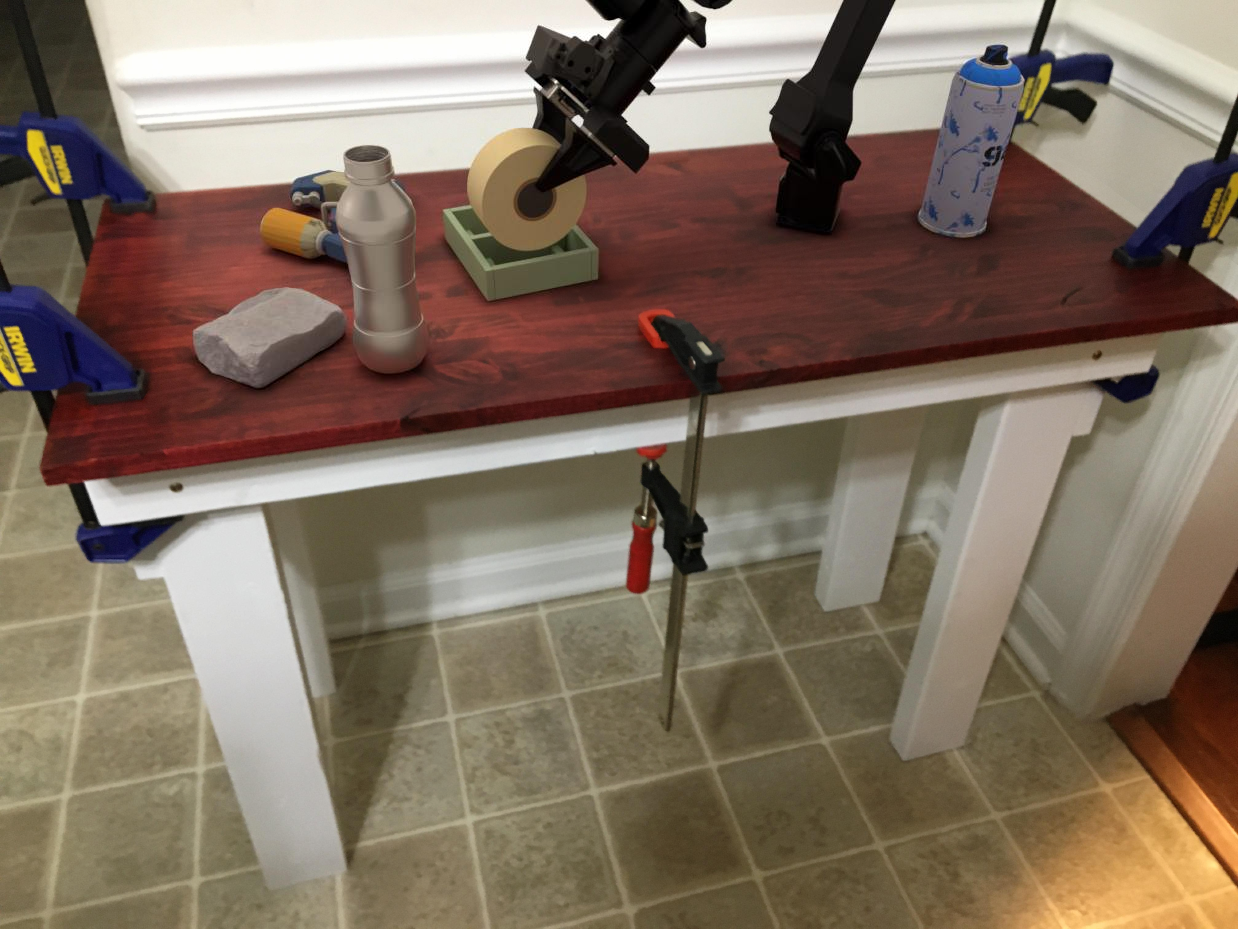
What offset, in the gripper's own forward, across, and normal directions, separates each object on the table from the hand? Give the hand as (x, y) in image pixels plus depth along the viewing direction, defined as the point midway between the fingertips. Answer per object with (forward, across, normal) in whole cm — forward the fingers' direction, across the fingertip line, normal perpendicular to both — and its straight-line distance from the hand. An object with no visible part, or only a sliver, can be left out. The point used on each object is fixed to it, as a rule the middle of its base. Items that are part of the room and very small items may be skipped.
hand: (529, 179), depth 100 cm
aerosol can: (-28, +7, +43) cm, 52 cm away
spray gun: (+19, -16, -4) cm, 25 cm away
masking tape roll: (+1, 0, +1) cm, 1 cm away
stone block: (+27, +4, -12) cm, 30 cm away
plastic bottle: (+20, +11, -5) cm, 23 cm away
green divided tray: (+8, -3, +7) cm, 11 cm away
